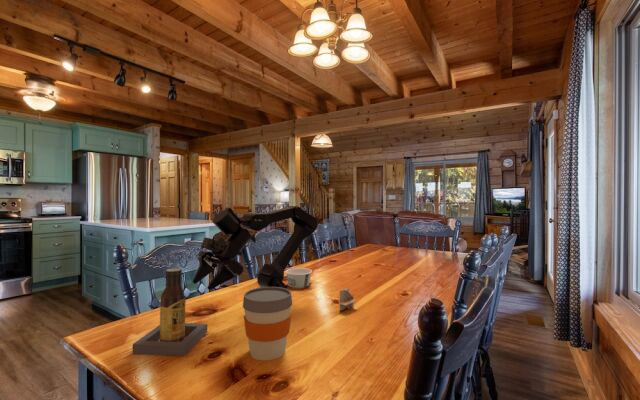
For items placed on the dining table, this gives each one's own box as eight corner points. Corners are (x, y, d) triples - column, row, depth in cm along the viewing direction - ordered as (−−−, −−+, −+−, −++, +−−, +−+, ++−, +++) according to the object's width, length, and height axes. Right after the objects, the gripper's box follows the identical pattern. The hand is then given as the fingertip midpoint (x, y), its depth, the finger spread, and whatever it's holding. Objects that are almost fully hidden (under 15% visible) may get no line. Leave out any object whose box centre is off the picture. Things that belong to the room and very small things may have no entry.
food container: (317, 284, 142) (317, 270, 142) (301, 291, 132) (301, 275, 132) (296, 280, 148) (296, 266, 148) (279, 286, 138) (279, 271, 138)
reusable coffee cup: (270, 370, 72) (270, 305, 71) (232, 355, 78) (232, 295, 78) (301, 347, 82) (301, 291, 82) (265, 336, 89) (266, 284, 89)
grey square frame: (207, 332, 91) (207, 323, 91) (184, 355, 78) (184, 345, 78) (163, 330, 92) (163, 322, 92) (132, 353, 79) (132, 344, 79)
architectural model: (356, 309, 111) (357, 289, 111) (345, 315, 106) (345, 293, 106) (349, 307, 114) (349, 287, 114) (337, 312, 108) (337, 291, 108)
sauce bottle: (175, 349, 81) (175, 273, 81) (154, 346, 82) (154, 272, 82) (190, 338, 88) (190, 267, 87) (170, 336, 89) (170, 266, 89)
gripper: (203, 225, 101) (168, 264, 93) (234, 229, 88) (196, 275, 80) (225, 247, 107) (193, 285, 99) (257, 254, 94) (224, 298, 86)
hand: (200, 285), depth 91 cm, fingers open, 9 cm apart
